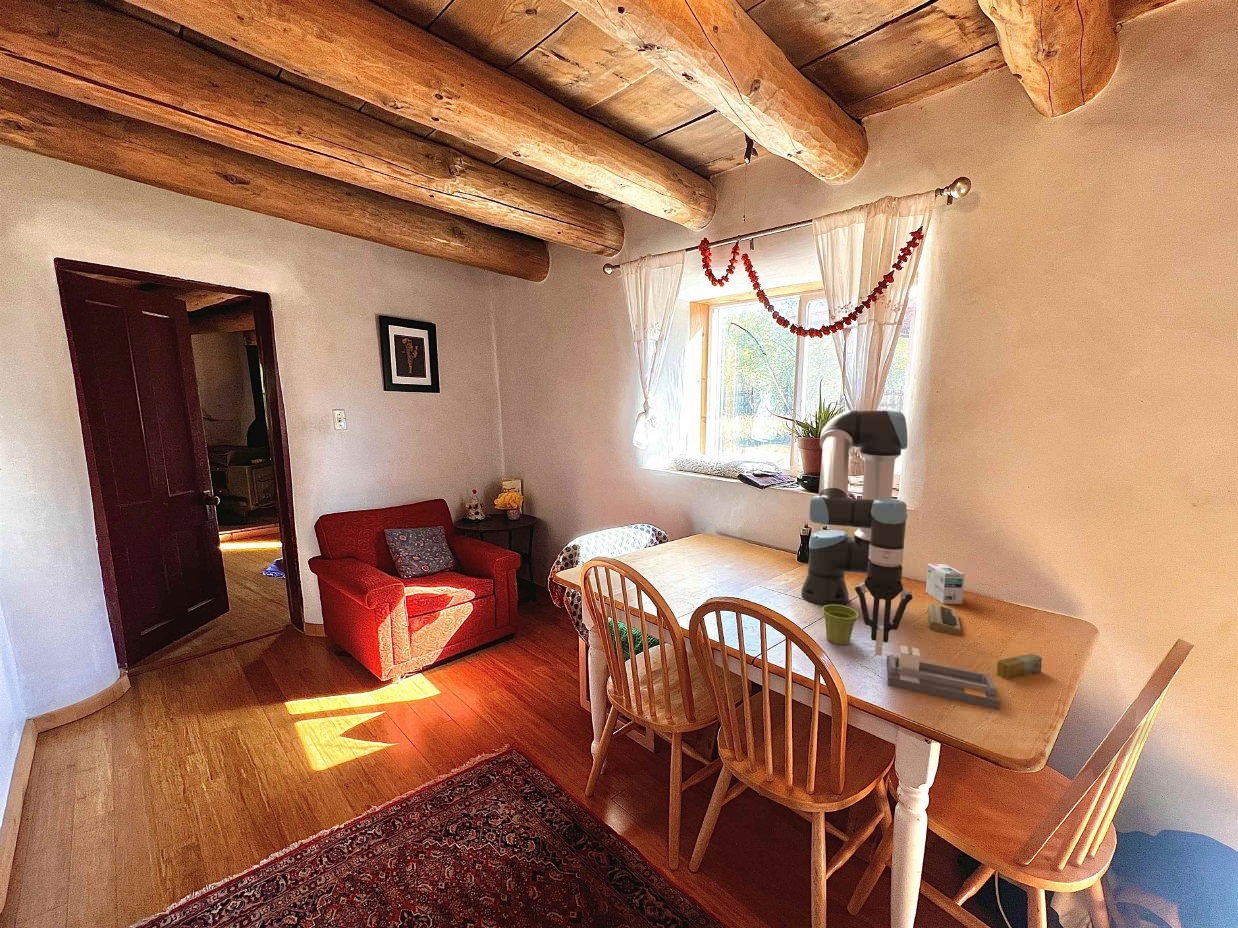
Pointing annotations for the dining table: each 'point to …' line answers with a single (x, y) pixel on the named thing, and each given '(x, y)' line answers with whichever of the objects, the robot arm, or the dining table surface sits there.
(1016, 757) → the dining table surface
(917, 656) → the white cardboard box
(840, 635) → the plant pot
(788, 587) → the dining table surface
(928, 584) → the light bulb box
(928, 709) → the dining table surface
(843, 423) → the robot arm
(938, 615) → the computer
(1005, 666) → the medication box
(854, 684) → the dining table surface
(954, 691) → the grey tray
